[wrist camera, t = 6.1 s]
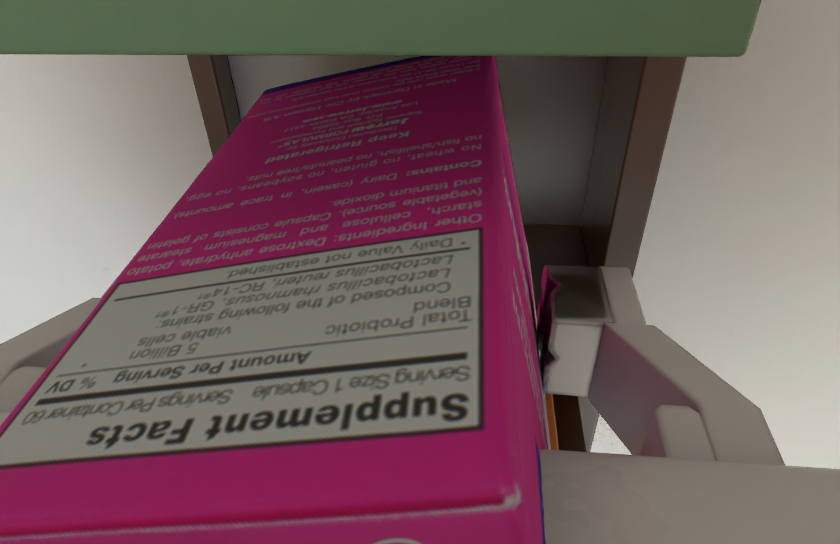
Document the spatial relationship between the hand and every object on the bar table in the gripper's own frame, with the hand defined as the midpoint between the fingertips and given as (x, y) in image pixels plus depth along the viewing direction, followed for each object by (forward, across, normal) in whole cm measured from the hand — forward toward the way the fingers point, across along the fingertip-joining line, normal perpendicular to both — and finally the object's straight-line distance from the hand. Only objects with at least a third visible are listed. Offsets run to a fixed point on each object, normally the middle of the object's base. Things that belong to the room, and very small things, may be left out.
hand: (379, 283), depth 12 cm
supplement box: (+5, 0, 0) cm, 5 cm away
